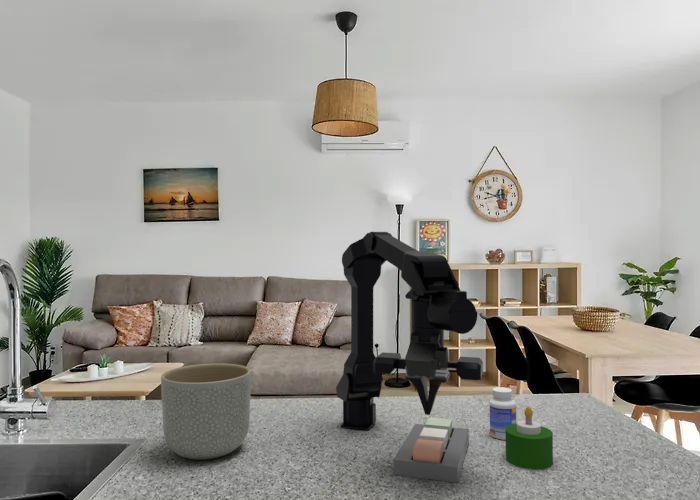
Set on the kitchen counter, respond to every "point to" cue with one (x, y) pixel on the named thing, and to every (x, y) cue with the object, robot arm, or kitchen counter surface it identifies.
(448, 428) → the key sage
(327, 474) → the kitchen counter surface
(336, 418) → the kitchen counter surface
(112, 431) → the kitchen counter surface
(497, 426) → the pill bottle
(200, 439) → the planter
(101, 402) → the kitchen counter surface
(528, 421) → the candle
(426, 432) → the key white
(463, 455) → the keypad
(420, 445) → the key terracotta
